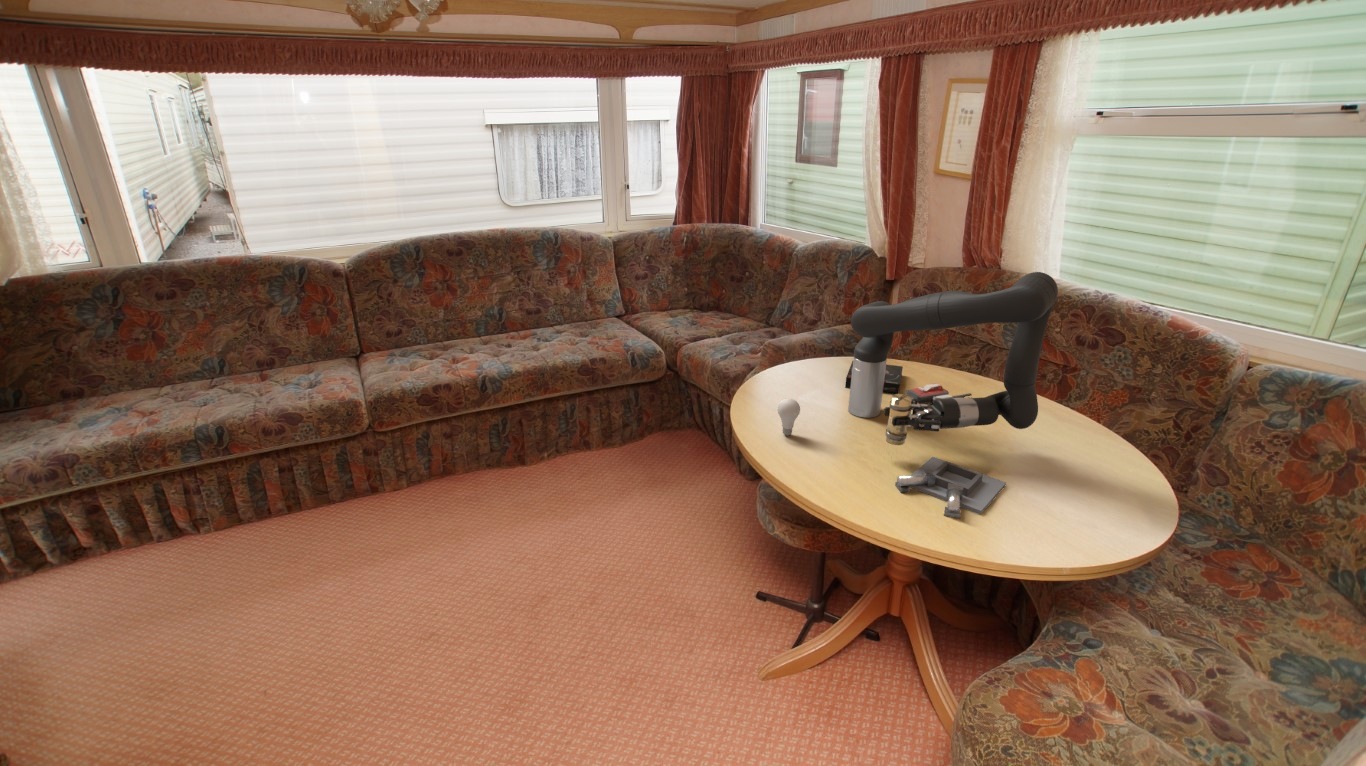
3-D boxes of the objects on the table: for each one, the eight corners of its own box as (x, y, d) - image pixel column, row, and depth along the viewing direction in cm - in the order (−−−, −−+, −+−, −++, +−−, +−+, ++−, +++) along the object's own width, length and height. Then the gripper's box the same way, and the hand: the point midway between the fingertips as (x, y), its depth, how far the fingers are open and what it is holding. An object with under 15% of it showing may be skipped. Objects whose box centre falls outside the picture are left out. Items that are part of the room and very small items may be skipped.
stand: (931, 459, 161) (933, 449, 160) (1005, 485, 149) (1008, 475, 148) (903, 484, 150) (904, 473, 149) (980, 514, 139) (982, 503, 138)
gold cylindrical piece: (890, 434, 162) (896, 391, 157) (909, 440, 159) (915, 397, 154) (881, 441, 159) (887, 398, 154) (899, 447, 156) (906, 404, 151)
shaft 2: (945, 496, 145) (948, 483, 144) (960, 499, 144) (963, 486, 143) (943, 515, 139) (946, 501, 137) (959, 518, 138) (962, 504, 136)
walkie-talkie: (919, 409, 189) (973, 399, 195) (921, 395, 188) (975, 386, 193) (901, 397, 197) (953, 389, 203) (902, 385, 195) (955, 376, 201)
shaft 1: (927, 483, 151) (929, 470, 149) (933, 490, 148) (935, 477, 146) (895, 485, 150) (897, 472, 149) (900, 492, 147) (902, 479, 146)
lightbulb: (773, 430, 177) (775, 394, 172) (795, 429, 177) (797, 393, 173) (778, 440, 171) (780, 404, 167) (800, 439, 171) (803, 403, 167)
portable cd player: (901, 376, 213) (902, 365, 212) (898, 396, 199) (899, 384, 197) (851, 370, 219) (852, 359, 217) (845, 388, 204) (846, 377, 202)
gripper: (942, 387, 162) (878, 390, 161) (971, 412, 149) (902, 416, 148) (937, 413, 165) (875, 417, 164) (966, 439, 152) (898, 444, 151)
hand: (888, 416), depth 156 cm, fingers closed on gold cylindrical piece, 4 cm apart
